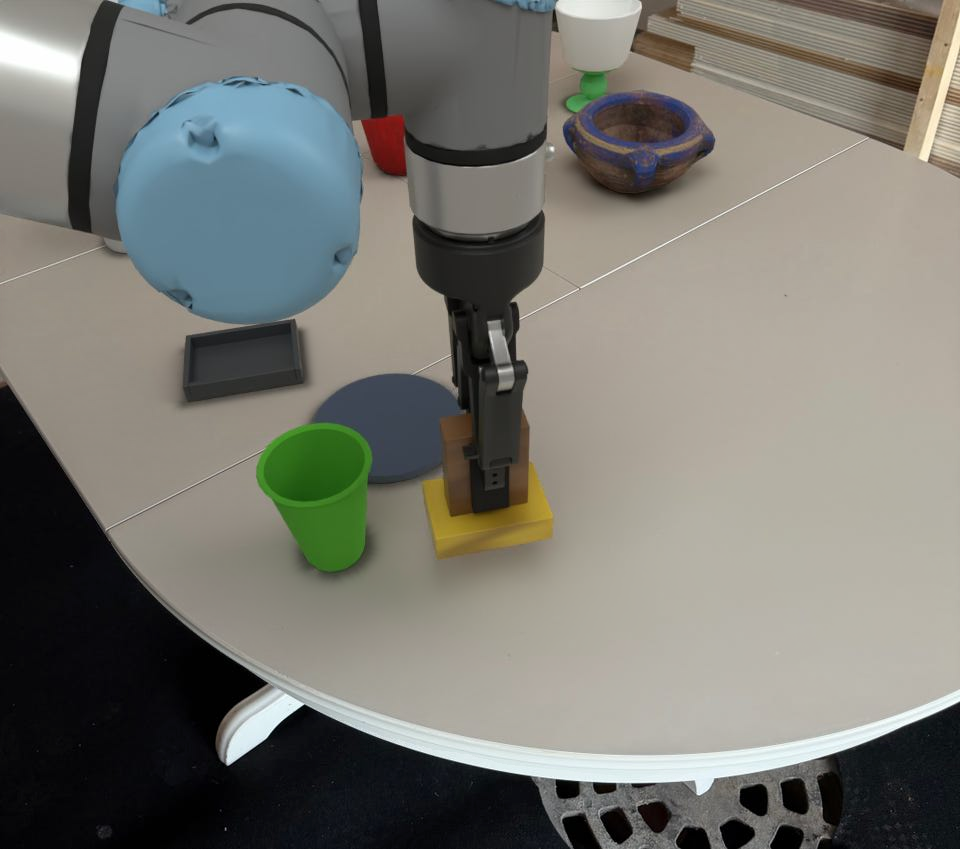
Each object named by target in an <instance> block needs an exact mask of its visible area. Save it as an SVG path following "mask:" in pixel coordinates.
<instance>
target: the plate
mask: <svg viewBox="0 0 960 849" xmlns="http://www.w3.org/2000/svg"><path fill="white" fill-rule="evenodd" d="M462 411H463V410H462ZM462 411H461V409H460V407H459V406H458V403H457V397H455V395H454V394H453V393H452V392H451V391H450V390H448V389H447V388H446V387H445V386H444V385H442V384H440V383H439V382H437V381H435V380H432V379H430V378H427V377H424V376H421V375H415V374H411V373H383V374H376V375H371V376H367V377H364V378H360V379H358V380H354V381H353V382H350V383H348V384H346V385H344V386H343V387H341V388H339V389H337V390H336V391H335V392H333V394H331V395H330V396H329V397H328V398H327V399H326V400H325V401H324V402H323V403H322V404H321V406H320V407H319V409H318V410H317V412H316V414H315V417H314V419H313V422H312V424H315V423H331V424H339V425H342V426H345V427H348V428H351V429H352V430H354V431H356V432H357V433H359V434H360V435H361V436H362V437H363V438H364V439H365V440H366V441H367V443H368V445H369V447H370V449H371V452H372V464H371V468H370V471H369V473H368V481H367V483H370V484H390V483H397V482H398V483H399V482H403V481H406V480H410V479H413V478H416V477H419V476H422V475H424V474H426V473H428V472H430V471H432V470H434V469H435V468H437V467H438V466H440V465H442V453H441V441H440V428H439V418H443V417H449V416H455V415H461V414H463V412H462Z"/></svg>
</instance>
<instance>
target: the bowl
mask: <svg viewBox="0 0 960 849" xmlns="http://www.w3.org/2000/svg"><path fill="white" fill-rule="evenodd" d="M562 136H563V138H564V141H565V143H566V145H567V146H568V147H569V149H570V150H571V152H573V154H574V155H575V156H576V157H577V159H578V160H579V161H580V163H581V164H582V165H583V167H584V168H585V169H586V170H587V172H588V174H589V175H590V176H591V177H593V179H595V181H597V182H599V183H600V184H602V185H603V186H604V187H606V188H608V189H610V190H611V191H614V192H618V193H623V194H639V193H644V192H649V191H652V190H655V189H658V188H660V187H663V186H666V185H668V184H670V183H672V182H674V181H676V180H677V179H679V178H681V177H682V176H683V175H685V174H686V173H687V172H688V171H689V170H690V169H691V168H692V166H693V165H694V164H695V163H697V162H699V161H700V160H701V159H704V158H705V157H707V156H708V155H709V154H711V153H712V151H713V150H714V149H715V146H716V137H715V135H714V133H713V131H712V130H711V129H710V128H709V126H707V125H706V123H705V121H703V119H702V118H701V116H700V115H699V114H698V112H697V111H696V110H695V109H694V108H693V107H692V106H690V105H689V104H687V103H686V102H684V101H682V100H680V99H677V98H675V97H672V96H670V95H665V94H662V93H657V92H654V91H650V90H646V89H636V90H635V89H634V90H627V91H621V92H613V93H608V94H607V95H605V96H602V97H599V98H597V99H595V100H593V101H591V102H589V103H587V104H586V105H584V106H583V107H582V108H581V109H580V110H579V111H578V112H577V113H574V114H573V115H571V116H570V117H568V118H567V119H566V121H565V122H564V123H563V125H562Z"/></svg>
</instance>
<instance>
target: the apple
mask: <svg viewBox="0 0 960 849" xmlns="http://www.w3.org/2000/svg"><path fill="white" fill-rule="evenodd" d="M360 123H361V127H362V129H363V132H364V135H365V139H366V141H367V144H368V148H369V151H370V156H371V157H372V160H373V163H374V164H376V165H377V166H378V167H379V168H380V169H381V170H382V171H384V172H385V173H387V174H390V175H393V176H407V169H406V158H405V147H404V136H405V132H404V123H405V122H404V118H403V115H394V116H387V118H377V119H367V120H360Z"/></svg>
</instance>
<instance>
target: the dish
mask: <svg viewBox="0 0 960 849" xmlns="http://www.w3.org/2000/svg"><path fill="white" fill-rule="evenodd" d="M298 328H299V327H298V324H297V319H296V318H291V319H282V320H279V321H275V322H269V323H263V324H251V325H244V326H238V327H233V328H225V329H219V330H214V331H207V332H200V333H194V334H193V333H192V334H187V335H185V342H184V355H183V356H184V358H183V370H182V371H183V372H182V386H181V387H182V390H183V393H184V395H185V398H186V401H187V402H188V403H190V402H197V401H202V400H209V399H214V398H221V397H227V396H233V395H238V394H239V395H240V394H245V393H250V392H257V391H263V390H269V389H275V388H282V387H286V386H287V387H288V386H292V385H293V386H294V385H299V384H300V385H301V384H304V382H305V380H304V372H303V363H302V362H303V361H302V355H301V354H302V353H301V343H300V342H301V341H300V334H299V330H298Z"/></svg>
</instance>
